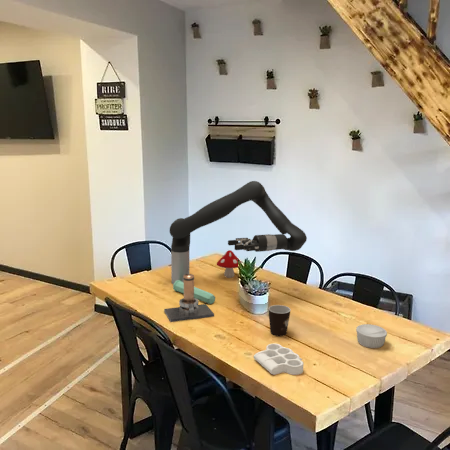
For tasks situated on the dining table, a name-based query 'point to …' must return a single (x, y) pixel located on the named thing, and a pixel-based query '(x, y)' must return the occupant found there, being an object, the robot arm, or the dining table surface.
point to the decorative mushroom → (228, 263)
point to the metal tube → (188, 289)
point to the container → (195, 292)
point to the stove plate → (181, 317)
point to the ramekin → (371, 335)
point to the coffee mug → (279, 319)
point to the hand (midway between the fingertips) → (231, 245)
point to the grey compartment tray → (280, 360)
